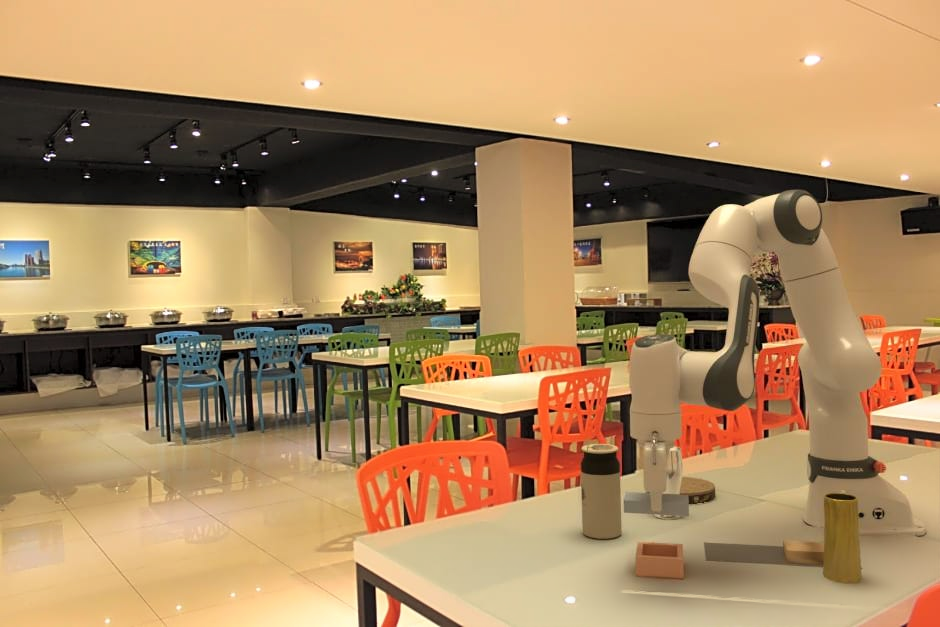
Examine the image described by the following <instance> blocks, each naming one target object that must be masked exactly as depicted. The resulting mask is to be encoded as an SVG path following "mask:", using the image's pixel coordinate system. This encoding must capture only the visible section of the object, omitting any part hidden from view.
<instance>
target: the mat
mask: <svg viewBox="0 0 940 627" xmlns="http://www.w3.org/2000/svg"><path fill="white" fill-rule="evenodd" d="M703 547H704V555H705V556H704V557H705V561H708V562H709V561H711V562H724V563H742V564H743V563H744V564H757V565H758V564H760V565H761V564H762V565H763V564H764V565H777V566H778V565H781V566H795V567H797V566H798V567H813V568H815V567H816V568H823V564H806V563H788V562H787V560H786V558H785V556H784V553H783V545H782V546H780V545H765V544H764V545H763V544H762V545H760V544H757V545H756V544H746V543H745V544H742V543H726V542H725V543H723V542H722V543H721V542H707V541H706V542H705V541H704V542H703ZM861 570H863V567H861Z"/></svg>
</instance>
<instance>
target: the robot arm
mask: <svg viewBox="0 0 940 627" xmlns="http://www.w3.org/2000/svg"><path fill="white" fill-rule="evenodd" d="M822 224H823V211H822V208H821V205H820V202H819V201H818V199H817V198H816V197H814V196H813V195H812V194H811V193H810V192H808V191H806V190H805V189H789V190H784V191H782V192H780V193H776V194H772V195H769V196H764V197H761V198H758V199H756V200H754V201H752V202H750V203H748V204H745V205H744V206H743V205H739V204H735V203H734V204H732V203H730V204H723V205H720V206H718V207H717V208H716V209H714V210H713V211H712V212H711V213H710V214H709V217H708V219H706V221H705V223H704V225H703V226H702V229H701V231H700V233H699V236H698V238H697V241H696V242H695V245H694V248H693V252H692V253H691V256H690V261H689V264H688V277H689V280H690V283H691V284H692V286H693V288H694V289H695V290H696V291H697V292H698V293H700V294H701V296H703V297H704V298H705V299H707V300H709V301H711V302H713V303H715V304H718V305H721V306H723V307H725V308H727V309H728V319H727V325H726V335H725V340H724V342H725V343H724V346H723V347H722V349H720V350H718V351H715V352H709V351H708V352H705V351H693V350H687V349H685V348H684V347H682V346H680V345H679V344H678V343H677V339H676V337H675V336H673V335H671V334H666V333H665V334H664V333H656V334H650V335H649V334H648V335H644V336H641V337H639V338H637V339H636V340H635V341H634V342H633V343H632V346H631V349H630V350H631V351H630V355H629V356H630V358H629V371H628V373H629V374H628V375H629V376H628V378H629V389H630V392H631V402H630V407H629V430H630V431H629V432H630V437H631V439H635V440H637V446H638V447H639V448H641V449H643V453H642V454H643V460H642V461H643V463H642V464H643V465H642V466H643V468H642V469H643V490H644V492H645V493H647V492H650V499H651V510H652V511H661V510H662V494H663V492H665V491H666V487H667V468H668V459H669V450H670V448H673V447H674V446H675V441H676V440H679V439H681V438H682V436H683V435H682V434H683V433H682V406H681V404H680V403H682V404H687V405H693V406H702V407H710V408H712V409H713V408H714V409H718V410H723V411H728V412H733V411H736V410H738V409H739V408H742V406H743V405H745V404H746V403H747V402H748V401H749V400H750V399H751V398H752V396H753V394H754V392H755V386H756V385H755V384H756V374H755V356H756V355H755V354H756V344H757V343H756V341H757V335H758V327H759V326H758V322H759V313H760V290H759V286H758V284H757V281H756V280H755V278H753V277H752V276H751V275H750V274H751V273H750V272H751V265H752V262H753V258H754V256H760V255H765V254H766V255H767V254H771V253H774V254H775V255H776V256H777V259H778V266H779V270H780V271H779V272H780V276H781V280H782V283H783V286H784V289H785V293H786V296H787V299H788V302H789V306H790V309H791V313H792V316H793V318H794V320H795V322H796V323H797V324H798V327H799V328H800V331H801V332H802V334H803V337H804V338H805V341H806V342H805V343H804V344H803V345H802V346H801V347H800V350H799V351H798V354H797V362H798V366H799V369H800V371H801V377H802V384H803V391H804V392H803V393H804V395H805V396H804V397H805V401H806V407H807V412H808V424H809V425H808V426H809V427H808V428H809V452H808V454H807V460H806V461H807V462H806V466H807V468H806V472H807V478H808V481H809V482H808V491H807V492H808V493H807V500H806V505H805V509H804V513H803V516H802V520H803V521H804V523H806V524H808V525H810V526H811V527H819V528H823V529H824V494H827V493H847V494H852V495H855V496H857V498H858V523H859V535H911V534H912V535H913V534H914V535H915V536H919V537H920V536H924V535H925V534H926V533H927V529H926V525H925V523H924V522H923V521H922V520H921V519H920V518H918V517H916V515H913V510H912V506H911V503H910V500H909V499H908V497H907V496H906V494H904V493H903V492H902V491H900V490H899V489H898V488H897V487H895V486H894V485H893V484H892V483H890V481H887V479H884V478H883V477H882V476H881V475H879V474H883V473H886V471H887V466H886V465H885V463H883V462H882V461H879V460H877V459H875V458H873V457H871V456H870V455H869V421H868V420H869V419H868V417H867V414H866V412H865V410H864V406H863V403H862V399H861V394H860V393H861V392H866V391H869V390H870V389H871V388H873V387H874V386H875V385H876V384H877V383H878V381H879V380H880V378H881V375H882V371H883V370H882V369H883V368H882V362H881V361H882V360H881V359H880V356H879V355H878V353H877V352H876V351H875V350H874V349H873V347H872V345H871V344H870V342H869V339H868V336H867V335H866V333H865V330H864V329H863V326H862V325H861V323H860V321H859V319H858V317H857V315H856V313H855V311H854V309H853V306H852V304H851V301H850V298H849V296H848V292H847V289H846V285H845V283H844V279H843V277H842V276H843V275H842V273H841V269H840V266H839V263H838V262H839V261H838V260H837V257H836V255H835V251H834V249H833V247H832V245H831V242H830V240H829V238H828V236H827V234H826V233H825V231H824V229H823V228H822Z"/></svg>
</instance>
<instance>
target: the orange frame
mask: <svg viewBox="0 0 940 627" xmlns="http://www.w3.org/2000/svg"><path fill="white" fill-rule="evenodd" d="M684 566H685V564H684V544H683V543H670V542H669V543H667V542H647V541H645V542H644V541H637V544H636V550H635V577H637V578H638V577H640V578H651V579H652V578H654V579H667V580H668V579H670V580H671V579H672V580H685V571H684V570H685V569H684Z"/></svg>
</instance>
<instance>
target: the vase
mask: <svg viewBox="0 0 940 627" xmlns="http://www.w3.org/2000/svg"><path fill="white" fill-rule="evenodd" d="M823 542H824V558H823V567H822V569H823V570H822V575H823V578H826V579H827V580H830V581H833V582H836V583H841V584H854V583H855V584H858V583H860V582H861V581H863V577H862V576H863V575H862V569H861V568H862V561H861V560H862V559H861V545H860V544H861V543H860V542H861V541H860V534H859V523H858V498H857V496H855V495H852V494H847V493H827V494H824V528H823Z"/></svg>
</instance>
